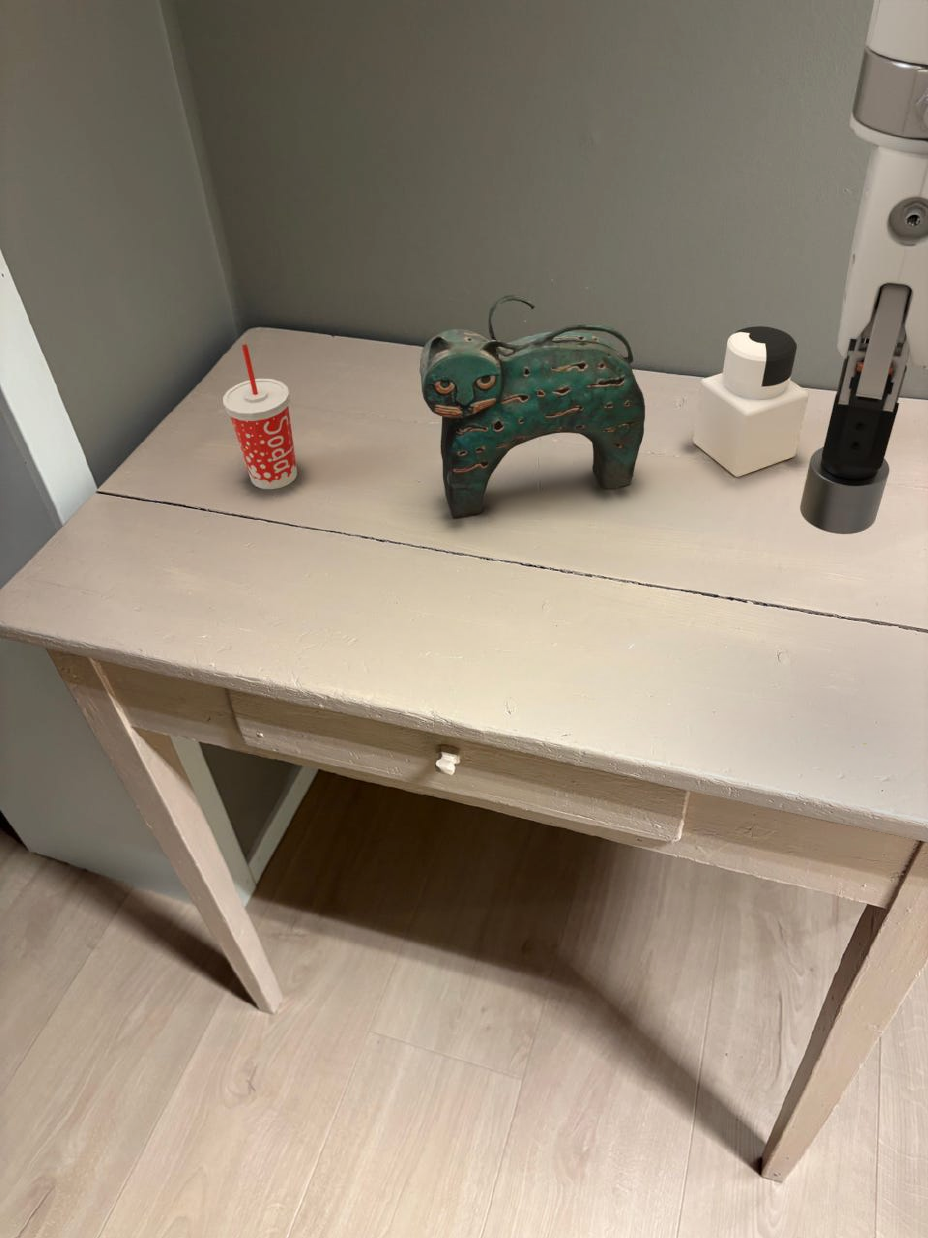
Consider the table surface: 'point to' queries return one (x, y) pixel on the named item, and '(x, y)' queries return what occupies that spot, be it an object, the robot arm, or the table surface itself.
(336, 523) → the table surface
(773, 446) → the medicine bottle
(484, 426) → the ceramic cat
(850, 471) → the torch
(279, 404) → the beverage cup
